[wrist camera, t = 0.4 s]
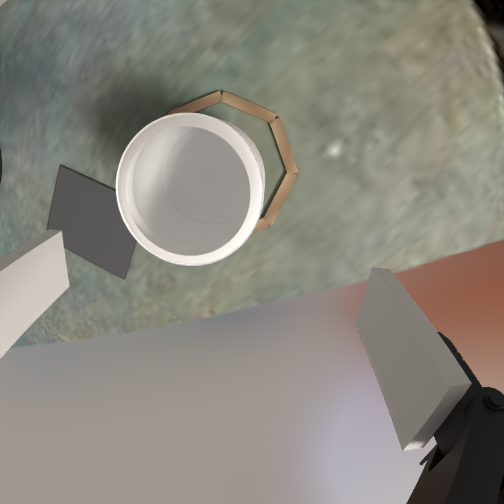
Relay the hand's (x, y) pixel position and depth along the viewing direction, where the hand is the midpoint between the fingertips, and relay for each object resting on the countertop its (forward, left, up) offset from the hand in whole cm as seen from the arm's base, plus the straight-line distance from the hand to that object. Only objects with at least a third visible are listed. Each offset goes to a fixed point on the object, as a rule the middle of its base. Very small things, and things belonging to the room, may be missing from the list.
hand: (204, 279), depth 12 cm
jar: (-3, 0, -24) cm, 24 cm away
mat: (-16, -13, -24) cm, 32 cm away
